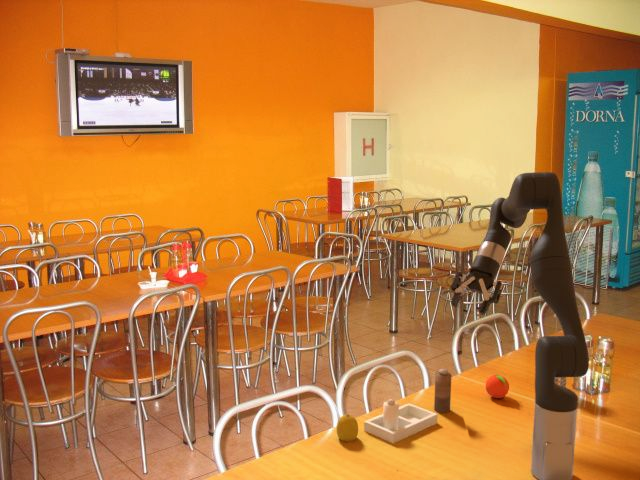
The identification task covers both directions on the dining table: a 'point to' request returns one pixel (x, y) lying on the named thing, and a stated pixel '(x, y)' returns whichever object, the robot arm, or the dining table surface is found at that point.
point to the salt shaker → (390, 415)
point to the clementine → (497, 386)
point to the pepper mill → (442, 391)
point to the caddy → (402, 423)
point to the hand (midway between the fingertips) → (467, 310)
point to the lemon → (347, 428)
